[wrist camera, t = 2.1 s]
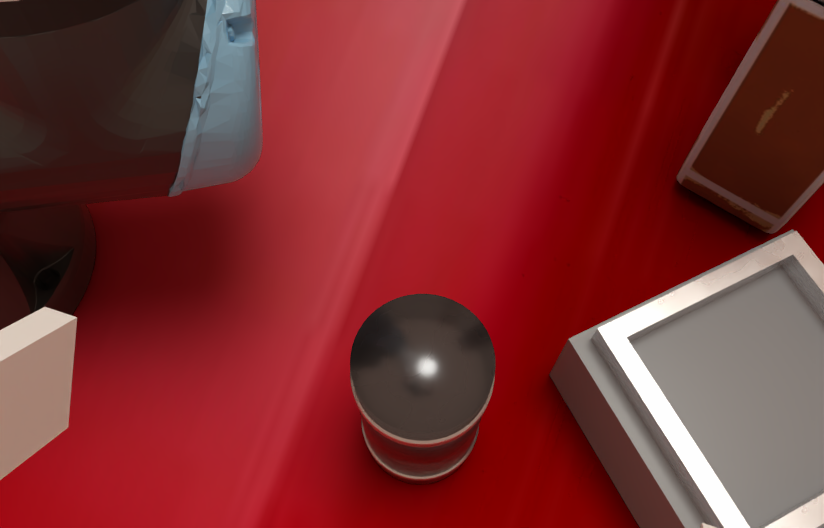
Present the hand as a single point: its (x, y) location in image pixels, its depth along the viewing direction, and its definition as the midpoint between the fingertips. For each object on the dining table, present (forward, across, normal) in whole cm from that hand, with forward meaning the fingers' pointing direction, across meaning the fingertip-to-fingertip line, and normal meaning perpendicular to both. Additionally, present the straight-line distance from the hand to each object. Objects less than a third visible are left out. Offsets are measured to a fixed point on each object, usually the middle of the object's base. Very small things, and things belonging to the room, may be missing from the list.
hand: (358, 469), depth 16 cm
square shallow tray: (+28, +15, -10) cm, 33 cm away
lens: (+24, -1, -14) cm, 28 cm away
